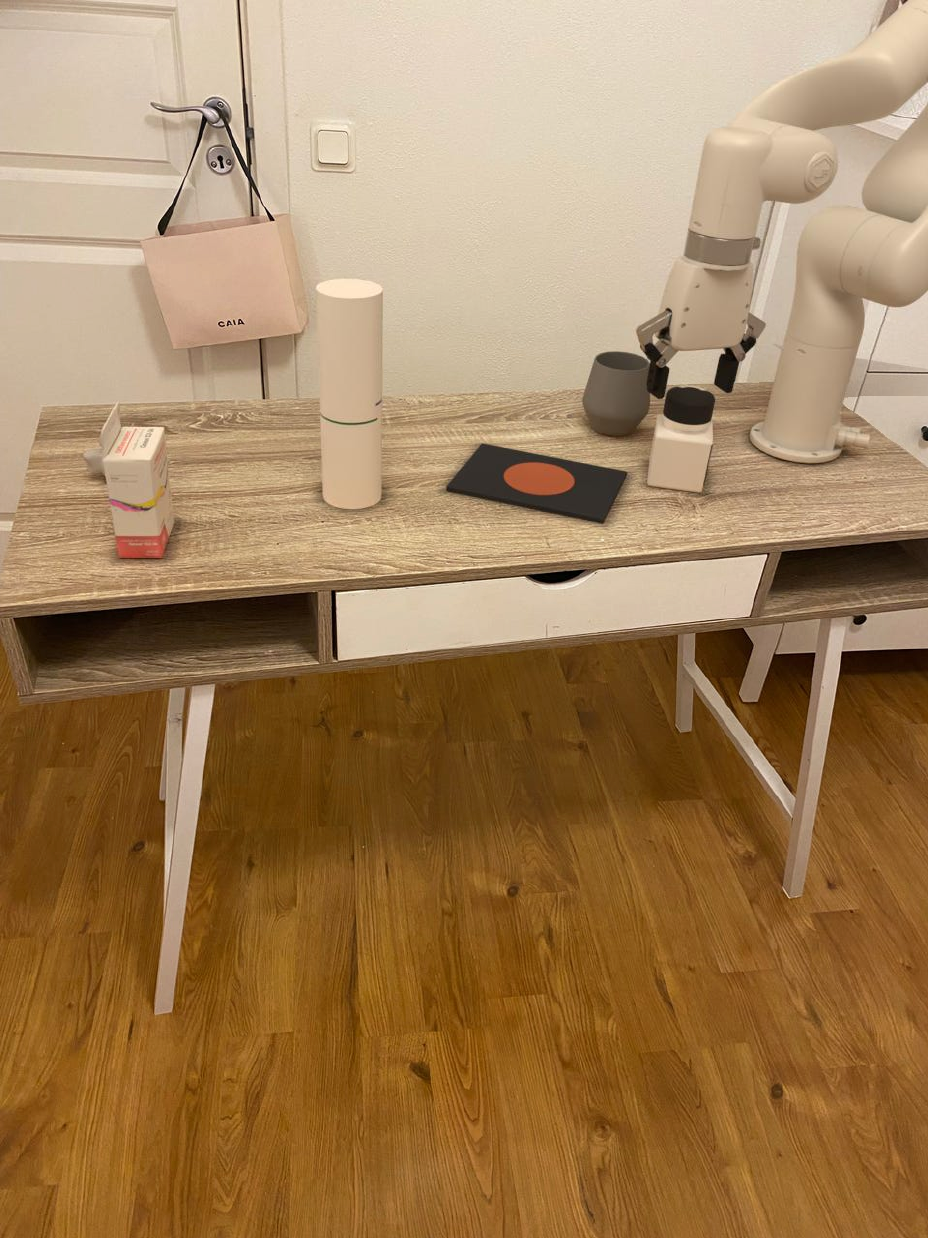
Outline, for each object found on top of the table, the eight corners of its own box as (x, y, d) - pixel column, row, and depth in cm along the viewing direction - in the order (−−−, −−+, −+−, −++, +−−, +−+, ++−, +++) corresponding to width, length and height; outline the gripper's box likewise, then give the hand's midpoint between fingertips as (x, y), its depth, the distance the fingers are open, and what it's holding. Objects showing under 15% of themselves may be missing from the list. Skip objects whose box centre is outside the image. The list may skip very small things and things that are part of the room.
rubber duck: (146, 483, 121) (137, 422, 117) (89, 491, 119) (78, 429, 114) (140, 464, 125) (131, 404, 121) (85, 471, 123) (74, 410, 119)
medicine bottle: (702, 494, 127) (721, 405, 120) (646, 486, 128) (661, 397, 121) (702, 470, 133) (720, 383, 126) (648, 462, 134) (663, 376, 127)
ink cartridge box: (165, 559, 107) (147, 432, 99) (117, 559, 107) (96, 432, 99) (177, 520, 114) (161, 399, 106) (132, 520, 114) (113, 398, 106)
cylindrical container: (390, 488, 124) (392, 284, 109) (367, 513, 118) (366, 302, 104) (337, 477, 125) (333, 275, 111) (312, 502, 120) (304, 291, 106)
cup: (599, 410, 148) (609, 343, 142) (656, 427, 143) (668, 360, 138) (567, 429, 141) (575, 361, 135) (625, 448, 137) (636, 378, 131)
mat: (626, 475, 130) (627, 470, 130) (603, 523, 119) (603, 518, 119) (481, 447, 135) (481, 442, 135) (445, 490, 124) (446, 485, 124)
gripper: (762, 238, 119) (731, 376, 129) (635, 242, 114) (613, 385, 123) (800, 255, 114) (765, 398, 123) (669, 259, 108) (642, 409, 117)
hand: (689, 391), depth 123 cm, fingers open, 9 cm apart
